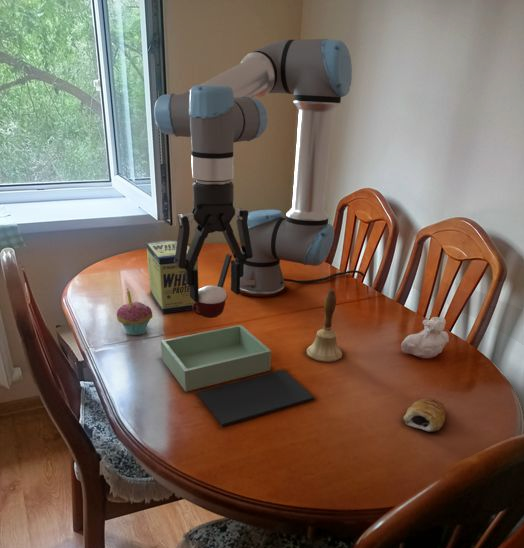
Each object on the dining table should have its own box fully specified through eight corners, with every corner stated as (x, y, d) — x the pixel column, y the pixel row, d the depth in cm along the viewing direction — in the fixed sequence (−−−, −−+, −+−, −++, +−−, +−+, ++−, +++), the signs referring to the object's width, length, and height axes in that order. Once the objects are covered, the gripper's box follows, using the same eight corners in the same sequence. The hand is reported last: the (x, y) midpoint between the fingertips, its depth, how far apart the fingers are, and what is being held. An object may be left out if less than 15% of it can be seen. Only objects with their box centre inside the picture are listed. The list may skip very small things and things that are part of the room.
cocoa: (194, 323, 99) (191, 266, 93) (187, 311, 104) (184, 256, 98) (239, 317, 102) (239, 261, 96) (229, 306, 107) (229, 252, 101)
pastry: (417, 401, 99) (421, 385, 97) (451, 413, 95) (456, 397, 93) (400, 424, 92) (404, 407, 90) (436, 438, 88) (441, 421, 87)
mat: (283, 371, 107) (283, 369, 107) (313, 399, 98) (314, 397, 98) (197, 393, 98) (197, 391, 98) (222, 426, 89) (222, 424, 89)
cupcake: (144, 340, 118) (140, 293, 112) (112, 336, 119) (106, 289, 114) (158, 325, 125) (155, 281, 120) (127, 321, 127) (122, 277, 121)
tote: (240, 342, 119) (240, 324, 116) (270, 370, 108) (271, 351, 105) (162, 359, 110) (160, 340, 108) (185, 391, 99) (184, 371, 97)
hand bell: (345, 348, 117) (352, 285, 110) (338, 364, 111) (346, 299, 103) (311, 342, 120) (316, 280, 112) (302, 358, 113) (307, 293, 105)
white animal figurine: (400, 366, 115) (425, 346, 105) (390, 337, 118) (413, 315, 108) (444, 360, 119) (471, 340, 109) (433, 332, 121) (459, 310, 111)
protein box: (162, 314, 132) (158, 258, 124) (149, 293, 144) (145, 241, 137) (200, 309, 135) (198, 254, 128) (184, 289, 148) (181, 238, 140)
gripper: (254, 174, 98) (252, 281, 109) (150, 180, 89) (159, 297, 99) (273, 180, 92) (269, 293, 103) (163, 188, 83) (172, 311, 94)
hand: (215, 295), depth 101 cm, fingers closed on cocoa, 8 cm apart
